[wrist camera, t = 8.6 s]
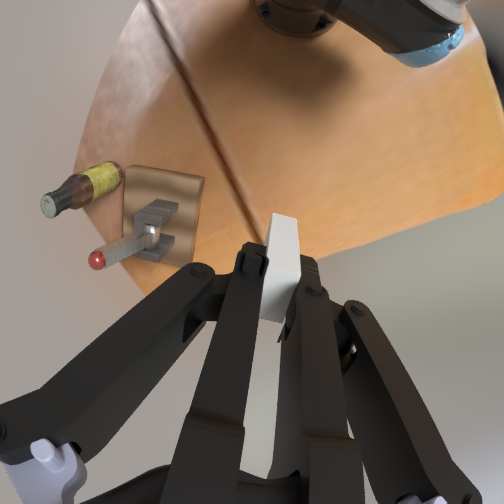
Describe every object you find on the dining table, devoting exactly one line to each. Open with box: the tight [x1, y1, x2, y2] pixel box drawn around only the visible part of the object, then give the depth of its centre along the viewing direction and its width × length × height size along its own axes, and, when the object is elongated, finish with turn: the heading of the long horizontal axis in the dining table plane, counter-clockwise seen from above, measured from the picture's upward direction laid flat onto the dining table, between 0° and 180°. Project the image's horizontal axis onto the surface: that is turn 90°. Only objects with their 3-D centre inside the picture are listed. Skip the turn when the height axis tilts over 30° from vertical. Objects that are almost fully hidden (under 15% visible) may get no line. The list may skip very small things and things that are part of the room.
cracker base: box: [123, 165, 205, 267], centre depth 50 cm, size 18×15×12 cm
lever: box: [88, 212, 160, 270], centre depth 42 cm, size 4×7×16 cm, turn 78°
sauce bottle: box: [41, 161, 122, 218], centre depth 43 cm, size 7×6×20 cm
